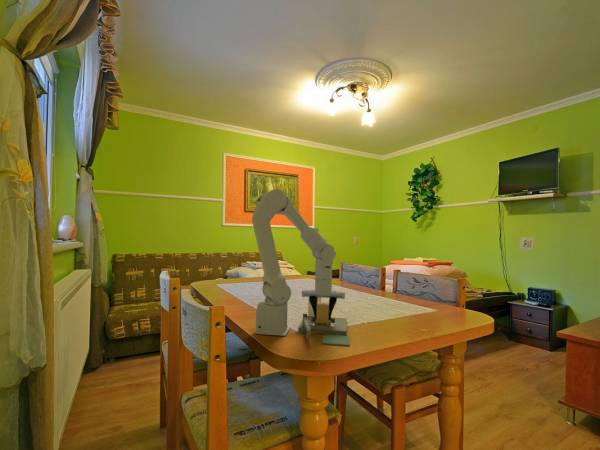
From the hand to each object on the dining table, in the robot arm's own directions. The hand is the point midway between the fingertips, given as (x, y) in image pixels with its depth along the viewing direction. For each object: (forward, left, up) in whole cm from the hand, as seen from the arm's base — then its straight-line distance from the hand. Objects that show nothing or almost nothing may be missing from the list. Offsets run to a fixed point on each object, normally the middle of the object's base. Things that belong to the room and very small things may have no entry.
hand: (322, 318), depth 99 cm
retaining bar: (-4, -11, 0) cm, 12 cm away
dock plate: (+1, -2, -2) cm, 3 cm away
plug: (0, 0, -2) cm, 2 cm away
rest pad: (+5, -14, -2) cm, 15 cm away
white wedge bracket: (-3, +9, -2) cm, 10 cm away
